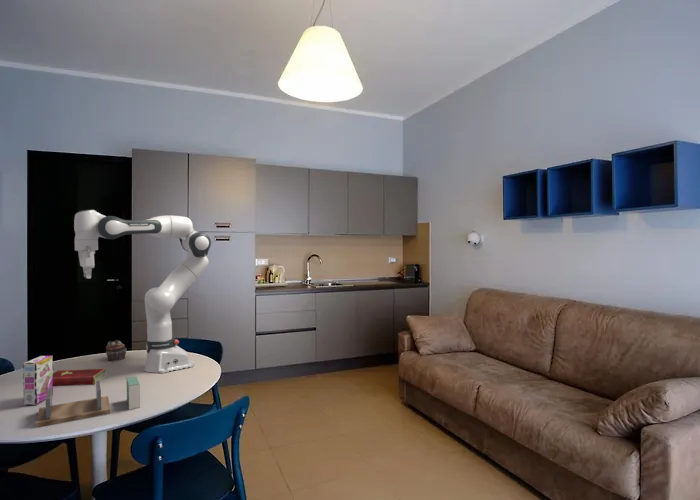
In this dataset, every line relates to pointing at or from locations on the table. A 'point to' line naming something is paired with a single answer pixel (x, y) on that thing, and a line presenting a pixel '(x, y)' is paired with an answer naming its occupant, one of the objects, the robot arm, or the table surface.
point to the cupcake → (115, 350)
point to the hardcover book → (77, 377)
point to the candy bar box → (37, 379)
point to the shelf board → (73, 411)
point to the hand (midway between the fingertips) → (87, 277)
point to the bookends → (49, 400)
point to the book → (133, 392)
